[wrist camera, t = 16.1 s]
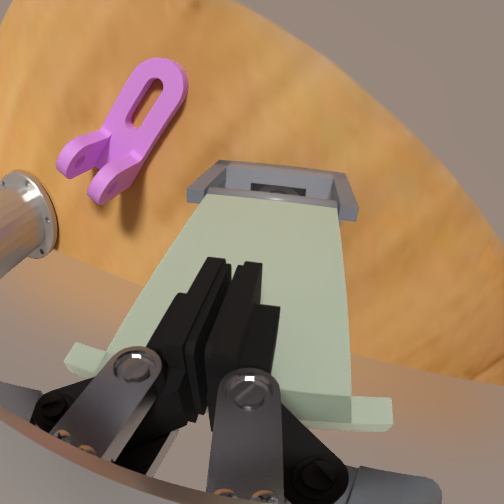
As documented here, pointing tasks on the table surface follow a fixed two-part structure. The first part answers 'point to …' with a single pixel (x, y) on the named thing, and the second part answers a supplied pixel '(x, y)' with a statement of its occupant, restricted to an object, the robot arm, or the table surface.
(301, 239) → the lid
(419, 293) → the table surface
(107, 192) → the bracket
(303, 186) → the housing
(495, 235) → the table surface
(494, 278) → the table surface
